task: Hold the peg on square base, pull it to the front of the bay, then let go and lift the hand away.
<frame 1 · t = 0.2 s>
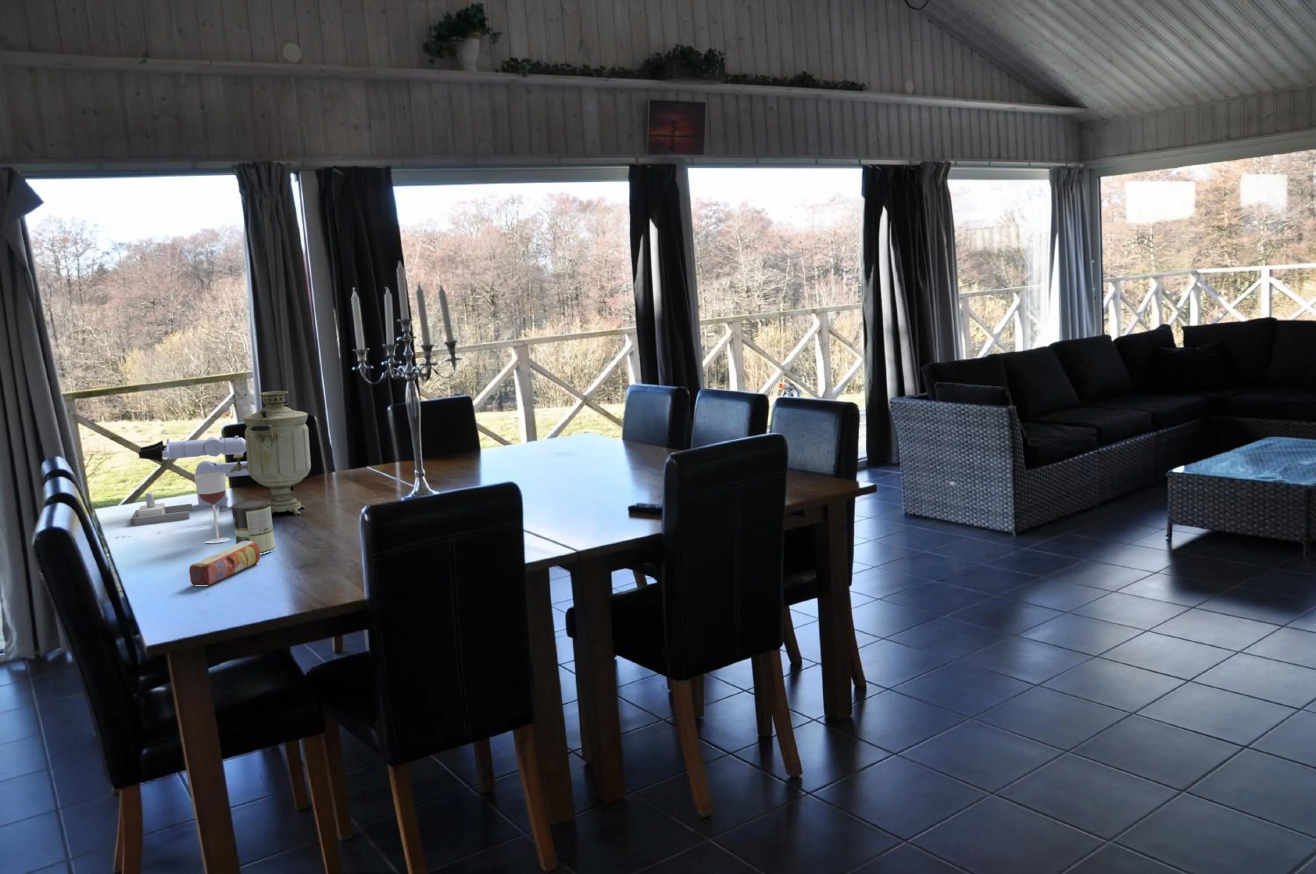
hand: (139, 453, 348), 21 cm above the table, tool horizontal, fingers open, 7 cm apart
bay: (163, 521, 340), on the table
coffee can: (256, 552, 293), on the table
snack package: (227, 576, 271), on the table
samovar: (278, 513, 343), on the table
wineglass: (218, 541, 309), on the table
peg on square base: (151, 506, 338), point 5 cm above the table, slide at 3.0 cm
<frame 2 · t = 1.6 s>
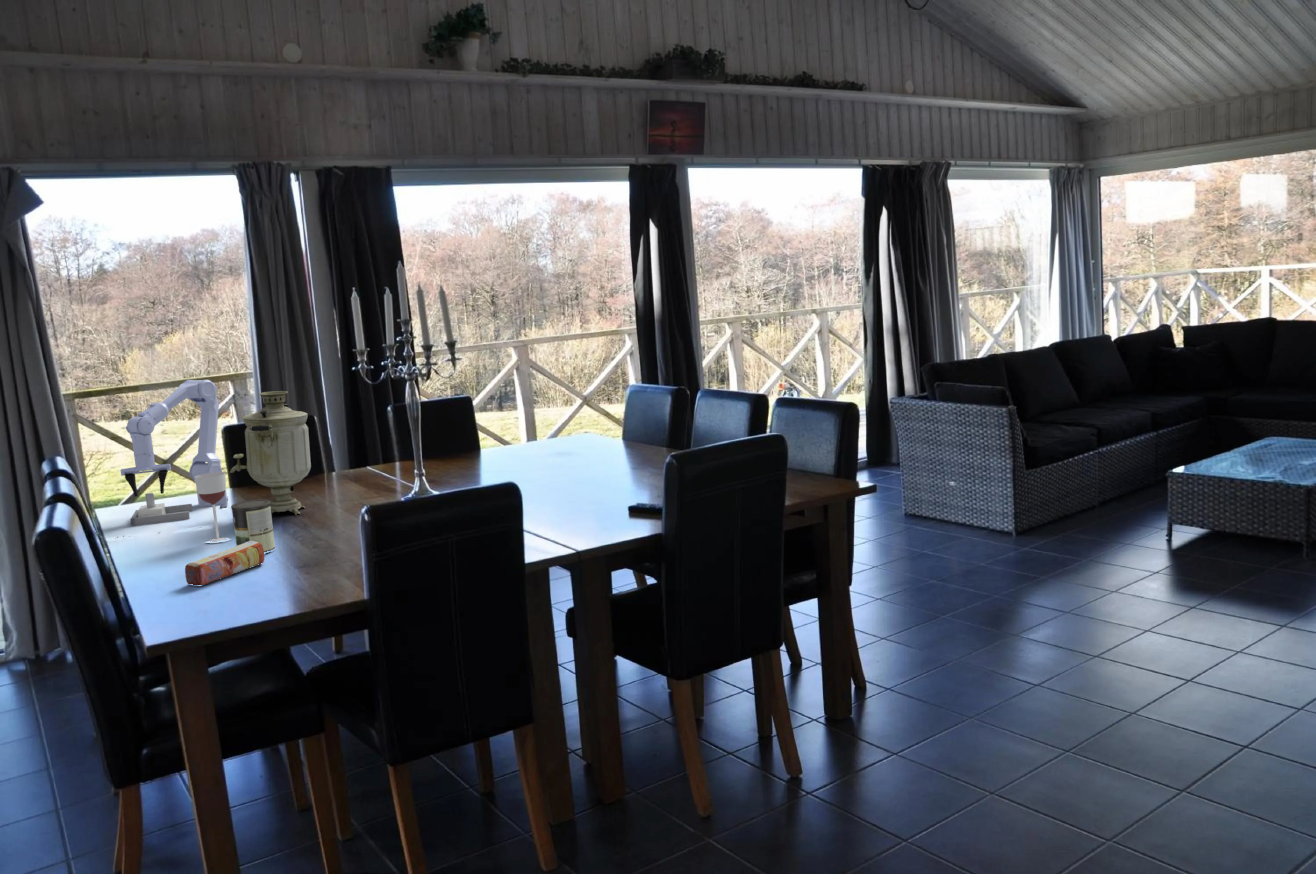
hand: (149, 494, 337), 9 cm above the table, tool pointing down, fingers open, 7 cm apart
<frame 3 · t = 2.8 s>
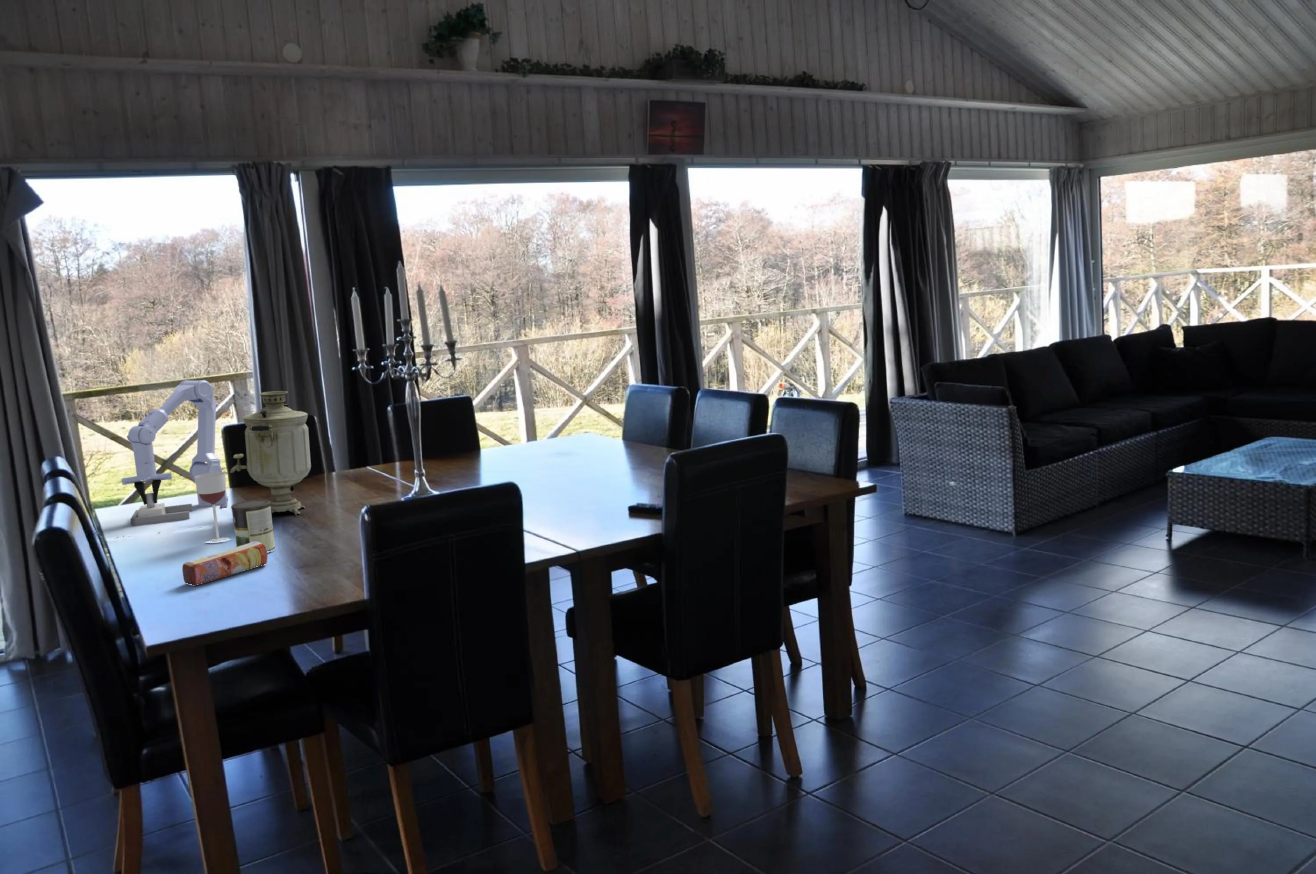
hand: (150, 503, 338), 6 cm above the table, tool pointing down, fingers closed on peg on square base, 2 cm apart
peg on square base: (151, 506, 338), point 5 cm above the table, slide at 3.0 cm, touching gripper
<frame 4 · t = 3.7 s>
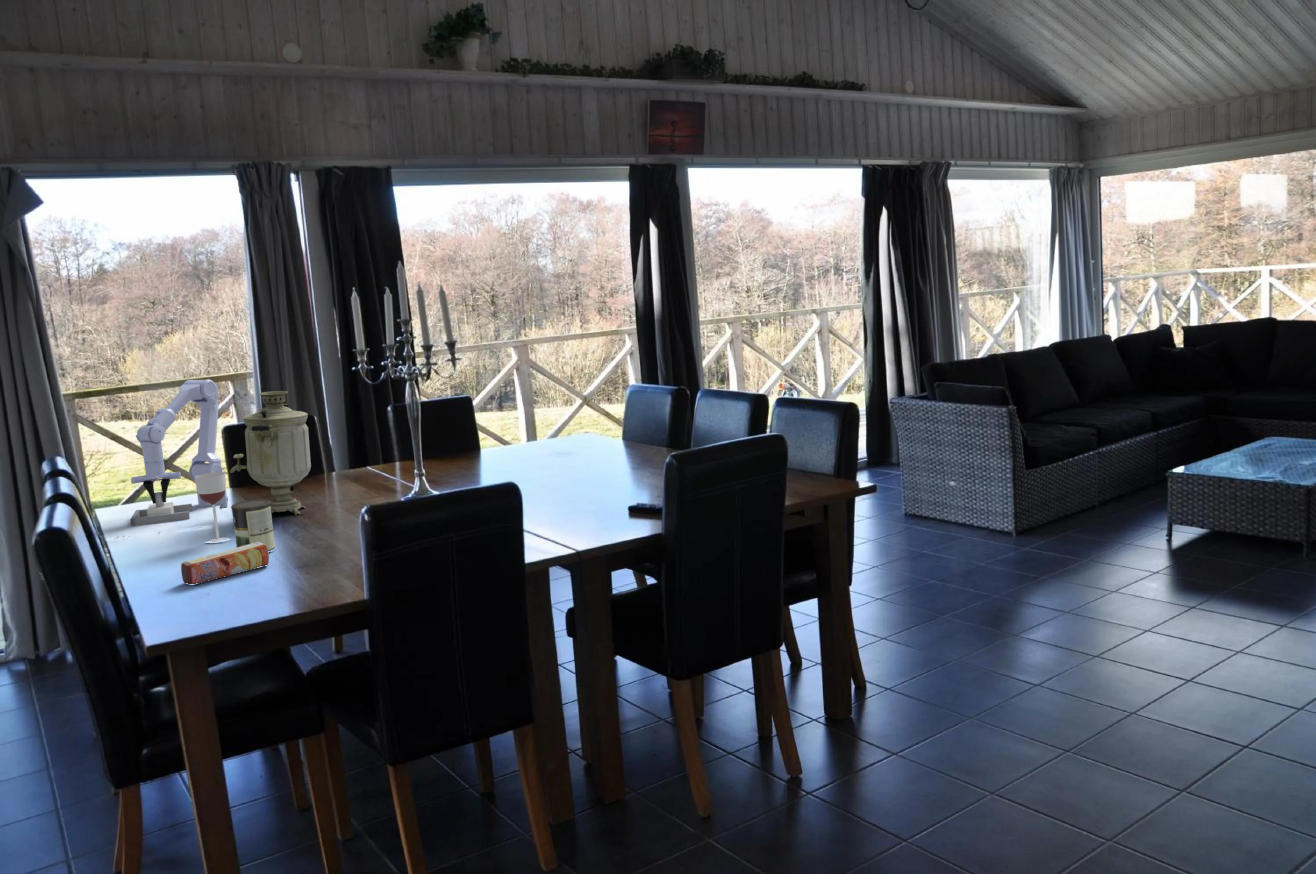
hand: (159, 502, 338), 6 cm above the table, tool pointing down, fingers closed on peg on square base, 2 cm apart
peg on square base: (159, 505, 339), point 5 cm above the table, slide at 0.3 cm, touching gripper
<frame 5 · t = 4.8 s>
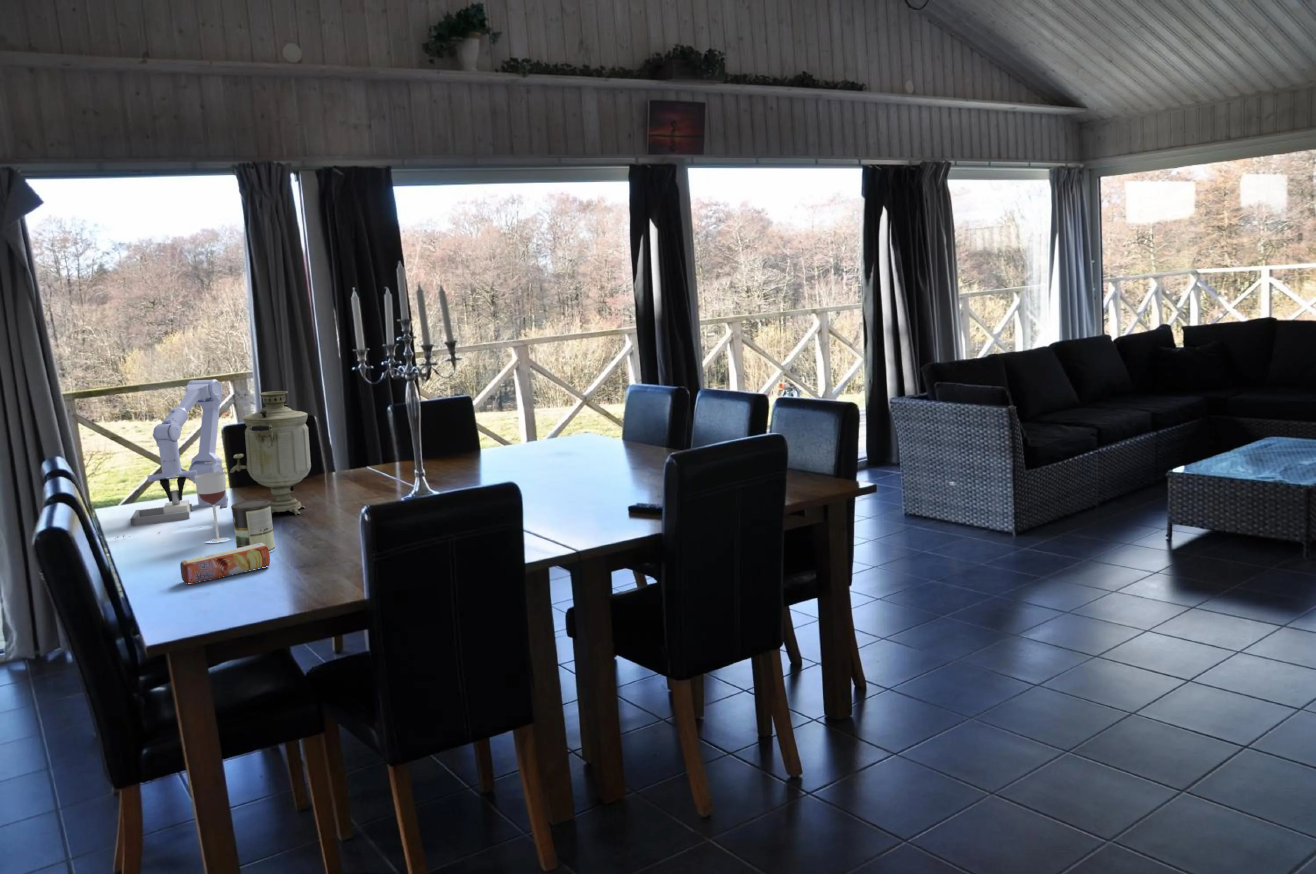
hand: (175, 500, 340), 6 cm above the table, tool pointing down, fingers closed on peg on square base, 2 cm apart
peg on square base: (176, 503, 340), point 5 cm above the table, slide at -4.5 cm, touching gripper
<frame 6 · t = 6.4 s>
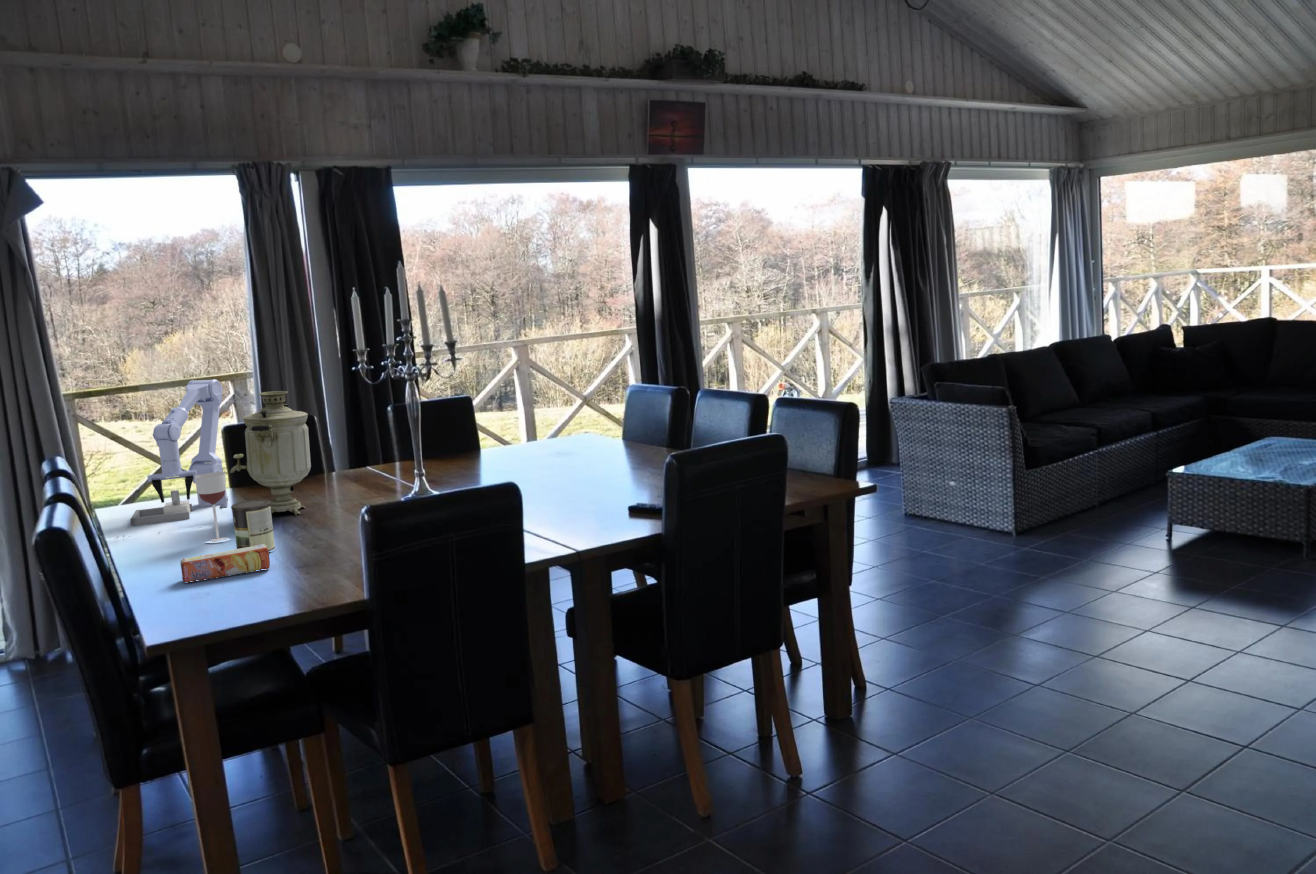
hand: (175, 500, 340), 6 cm above the table, tool pointing down, fingers open, 7 cm apart
peg on square base: (176, 503, 340), point 5 cm above the table, slide at -4.5 cm
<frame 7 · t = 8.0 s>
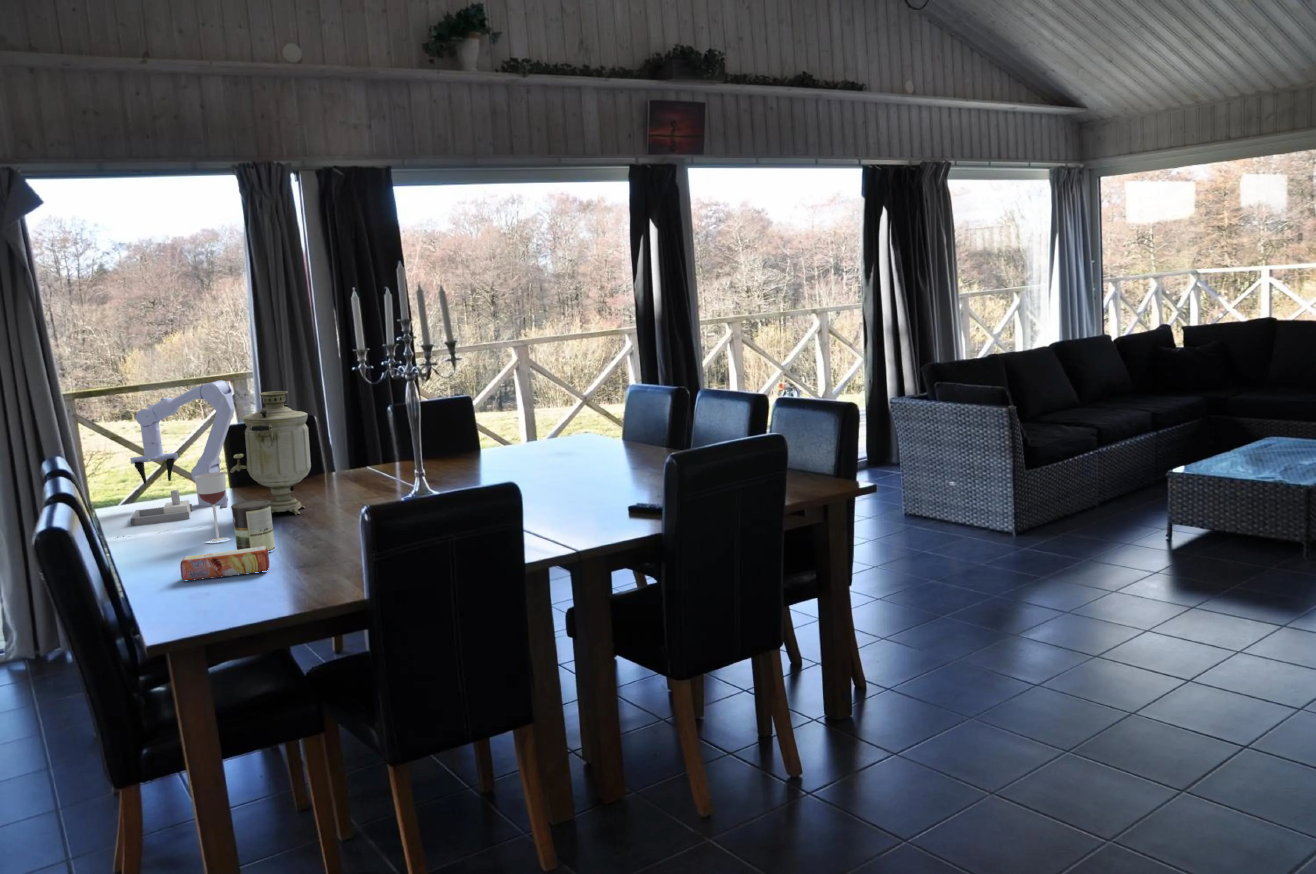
hand: (157, 481, 357), 10 cm above the table, tool pointing down, fingers open, 7 cm apart
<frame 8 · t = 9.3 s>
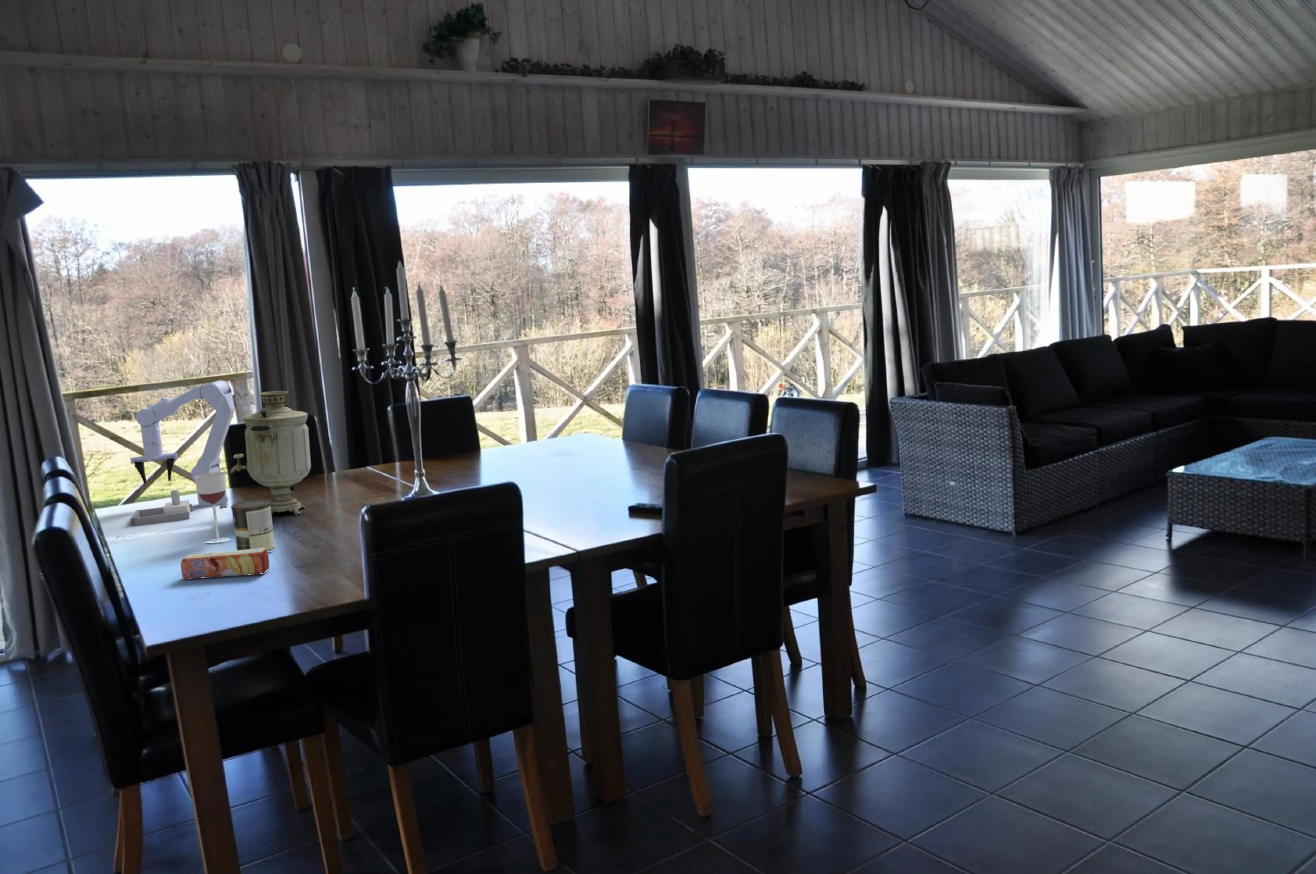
hand: (157, 481, 357), 10 cm above the table, tool pointing down, fingers open, 7 cm apart
at the end: peg on square base slide at -4.5 cm; the gripper is holding nothing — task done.
